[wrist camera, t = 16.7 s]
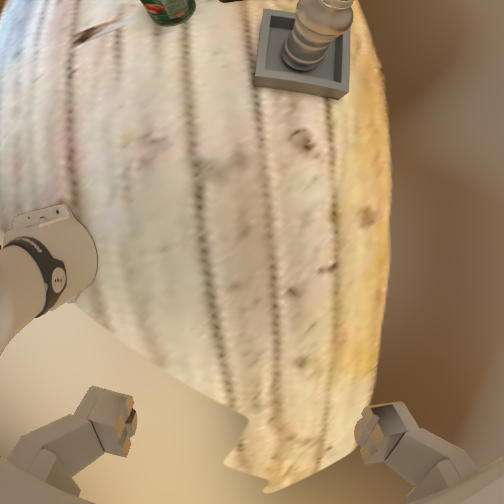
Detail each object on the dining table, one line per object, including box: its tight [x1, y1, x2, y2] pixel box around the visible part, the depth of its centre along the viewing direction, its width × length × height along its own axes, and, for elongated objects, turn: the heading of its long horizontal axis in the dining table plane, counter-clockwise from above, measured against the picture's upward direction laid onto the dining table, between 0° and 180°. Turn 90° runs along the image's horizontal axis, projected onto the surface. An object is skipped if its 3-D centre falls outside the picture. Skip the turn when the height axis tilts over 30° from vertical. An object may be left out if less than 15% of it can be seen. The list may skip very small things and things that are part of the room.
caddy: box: [254, 9, 350, 100], centre depth 35 cm, size 13×12×5 cm
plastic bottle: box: [281, 0, 354, 71], centre depth 27 cm, size 6×7×20 cm
